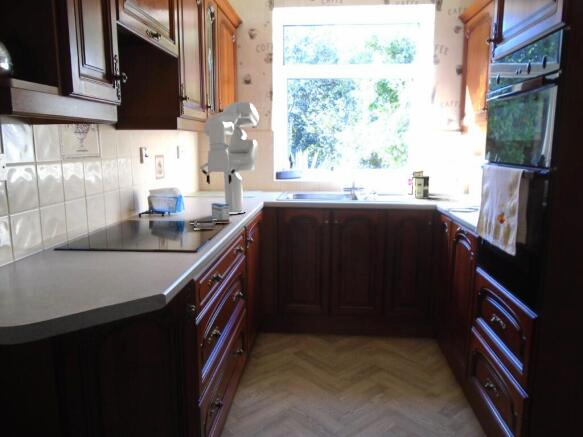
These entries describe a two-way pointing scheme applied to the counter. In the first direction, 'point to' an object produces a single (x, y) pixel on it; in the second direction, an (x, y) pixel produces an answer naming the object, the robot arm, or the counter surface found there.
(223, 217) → the medicine box
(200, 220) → the door-edge strip
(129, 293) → the counter surface
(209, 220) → the grey shallow tray
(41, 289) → the counter surface
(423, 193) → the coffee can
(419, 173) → the candy bar box
